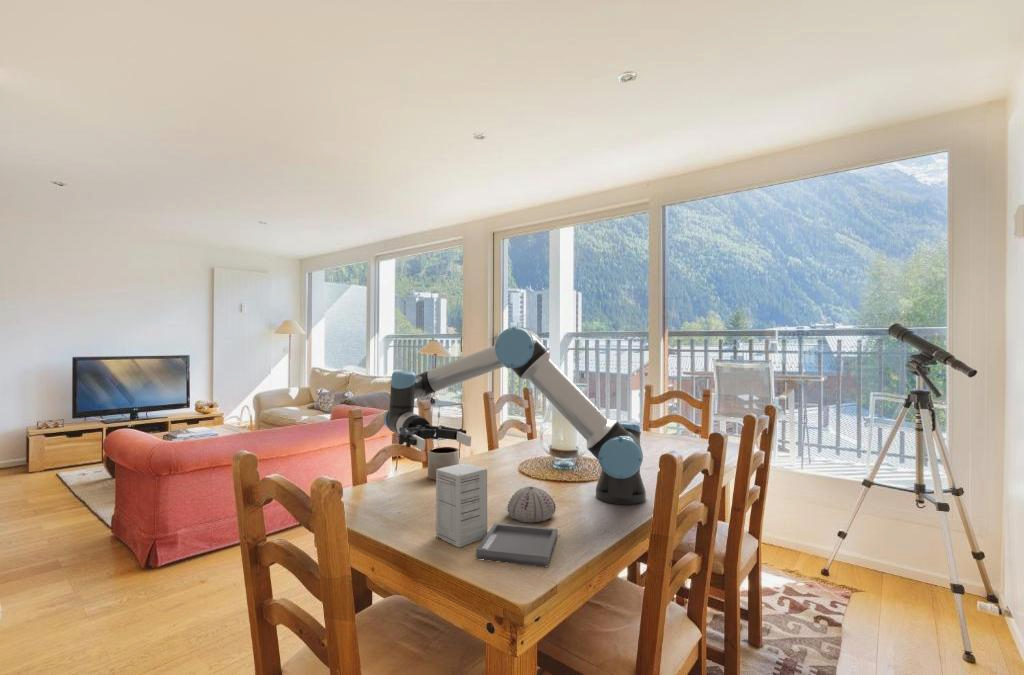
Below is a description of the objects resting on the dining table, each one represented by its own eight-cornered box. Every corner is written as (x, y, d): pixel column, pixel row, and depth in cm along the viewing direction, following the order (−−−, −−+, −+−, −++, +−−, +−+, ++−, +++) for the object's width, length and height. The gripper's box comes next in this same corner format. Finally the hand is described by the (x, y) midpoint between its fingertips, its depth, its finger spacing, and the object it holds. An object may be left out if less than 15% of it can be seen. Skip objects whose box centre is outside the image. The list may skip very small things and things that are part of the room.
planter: (421, 478, 173) (421, 450, 173) (442, 471, 182) (442, 445, 182) (444, 483, 166) (444, 454, 166) (465, 476, 175) (465, 449, 175)
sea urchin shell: (565, 519, 134) (565, 490, 134) (523, 529, 126) (523, 498, 127) (537, 505, 145) (537, 478, 145) (497, 514, 138) (497, 485, 138)
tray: (557, 537, 121) (557, 528, 121) (547, 567, 105) (548, 556, 105) (494, 531, 125) (494, 523, 125) (476, 559, 109) (476, 549, 109)
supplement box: (488, 537, 121) (489, 468, 121) (459, 548, 115) (459, 475, 115) (463, 526, 128) (464, 461, 128) (434, 536, 121) (435, 468, 121)
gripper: (449, 437, 154) (486, 453, 137) (371, 443, 140) (401, 462, 122) (451, 413, 154) (488, 426, 137) (373, 416, 140) (403, 431, 122)
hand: (447, 443), depth 130 cm, fingers open, 13 cm apart
